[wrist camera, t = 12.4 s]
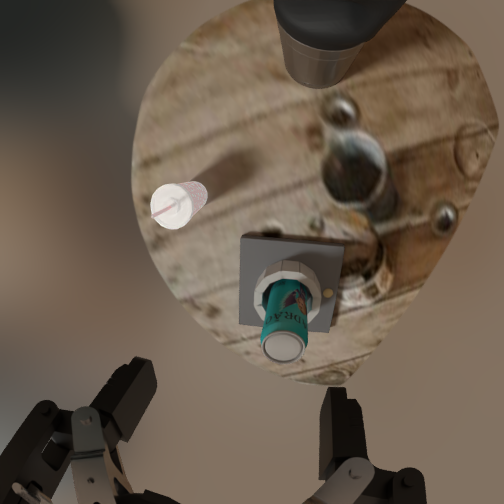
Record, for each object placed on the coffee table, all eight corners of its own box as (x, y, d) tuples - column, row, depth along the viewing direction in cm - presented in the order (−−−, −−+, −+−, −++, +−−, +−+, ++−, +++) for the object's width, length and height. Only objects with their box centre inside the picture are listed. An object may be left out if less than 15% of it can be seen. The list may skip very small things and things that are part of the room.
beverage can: (313, 286, 45) (318, 345, 31) (291, 310, 47) (287, 372, 33) (285, 266, 44) (278, 320, 30) (264, 291, 46) (249, 350, 33)
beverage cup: (175, 210, 46) (130, 236, 33) (178, 174, 43) (132, 186, 30) (209, 217, 45) (174, 245, 32) (214, 179, 43) (178, 193, 30)
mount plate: (242, 235, 45) (235, 246, 40) (343, 243, 43) (348, 256, 38) (240, 319, 51) (234, 337, 46) (328, 327, 49) (330, 346, 44)
